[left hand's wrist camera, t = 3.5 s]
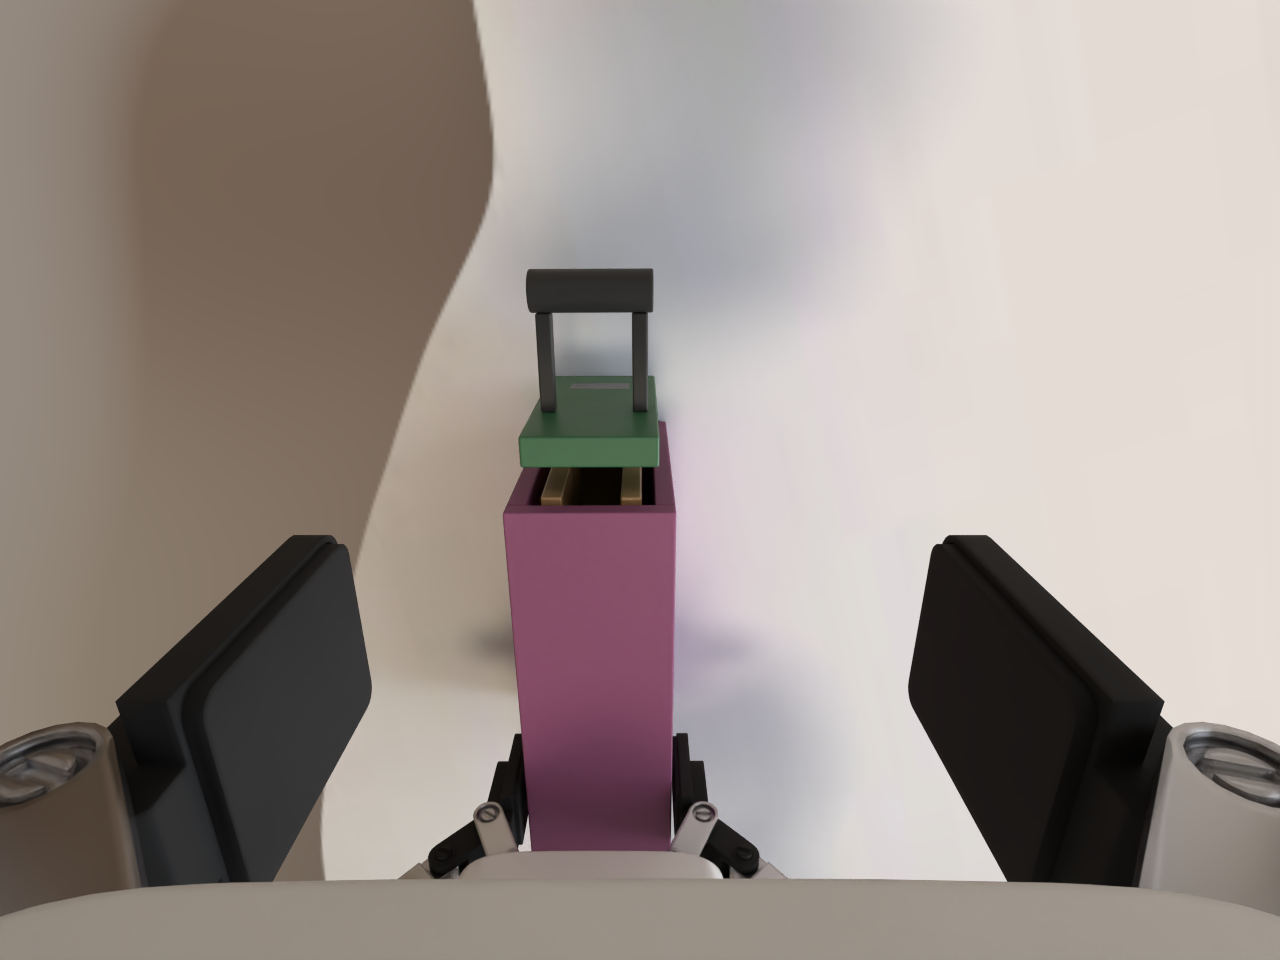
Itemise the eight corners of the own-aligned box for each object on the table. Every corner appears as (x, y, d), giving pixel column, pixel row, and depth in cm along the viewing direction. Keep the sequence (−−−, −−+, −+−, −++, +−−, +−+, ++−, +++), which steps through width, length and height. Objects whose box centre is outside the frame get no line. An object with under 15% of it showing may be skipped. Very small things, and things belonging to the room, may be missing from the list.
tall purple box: (543, 421, 35) (502, 513, 25) (665, 421, 35) (676, 512, 25) (559, 700, 42) (532, 867, 31) (662, 700, 42) (670, 866, 31)
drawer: (544, 257, 32) (506, 278, 23) (654, 257, 32) (660, 277, 23) (565, 659, 40) (543, 790, 31) (653, 659, 40) (657, 790, 31)
